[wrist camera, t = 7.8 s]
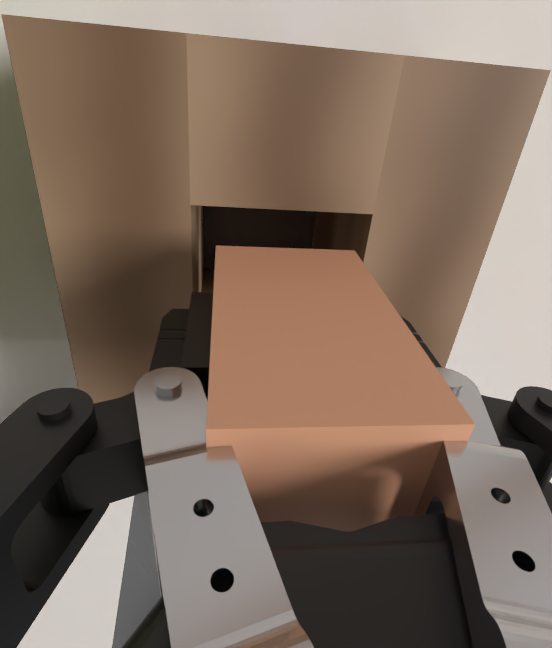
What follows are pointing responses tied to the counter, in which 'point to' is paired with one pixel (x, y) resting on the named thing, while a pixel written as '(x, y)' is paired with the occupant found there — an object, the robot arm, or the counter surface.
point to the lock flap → (137, 574)
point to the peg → (322, 389)
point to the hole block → (255, 169)
